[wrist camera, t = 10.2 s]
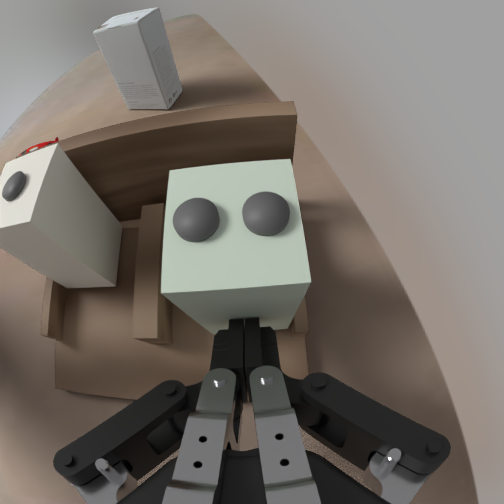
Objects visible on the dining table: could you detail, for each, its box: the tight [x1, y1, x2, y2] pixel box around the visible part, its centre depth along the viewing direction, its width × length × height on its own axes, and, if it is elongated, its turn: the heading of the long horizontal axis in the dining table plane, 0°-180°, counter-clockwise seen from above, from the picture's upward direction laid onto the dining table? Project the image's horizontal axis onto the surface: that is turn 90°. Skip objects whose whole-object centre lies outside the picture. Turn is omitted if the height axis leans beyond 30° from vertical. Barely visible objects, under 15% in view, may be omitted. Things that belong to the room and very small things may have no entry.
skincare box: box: [93, 8, 182, 109], centre depth 25 cm, size 6×4×12 cm
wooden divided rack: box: [16, 101, 309, 401], centre depth 16 cm, size 15×19×10 cm
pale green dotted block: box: [161, 159, 311, 334], centre depth 15 cm, size 5×5×10 cm
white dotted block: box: [0, 143, 123, 288], centre depth 16 cm, size 5×5×10 cm
